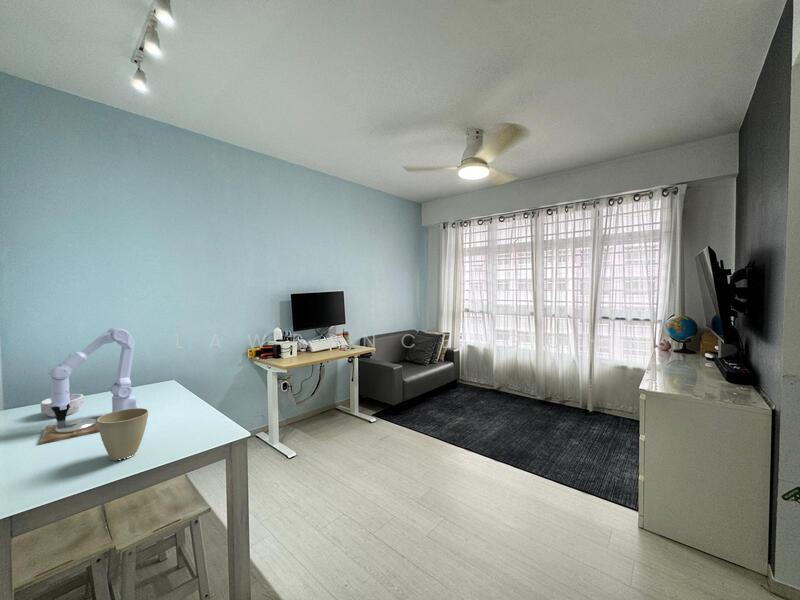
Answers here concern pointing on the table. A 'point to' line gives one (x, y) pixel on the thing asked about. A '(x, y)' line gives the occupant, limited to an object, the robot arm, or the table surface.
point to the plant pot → (122, 431)
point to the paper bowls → (74, 404)
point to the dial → (74, 425)
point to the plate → (52, 436)
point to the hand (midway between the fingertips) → (61, 421)
